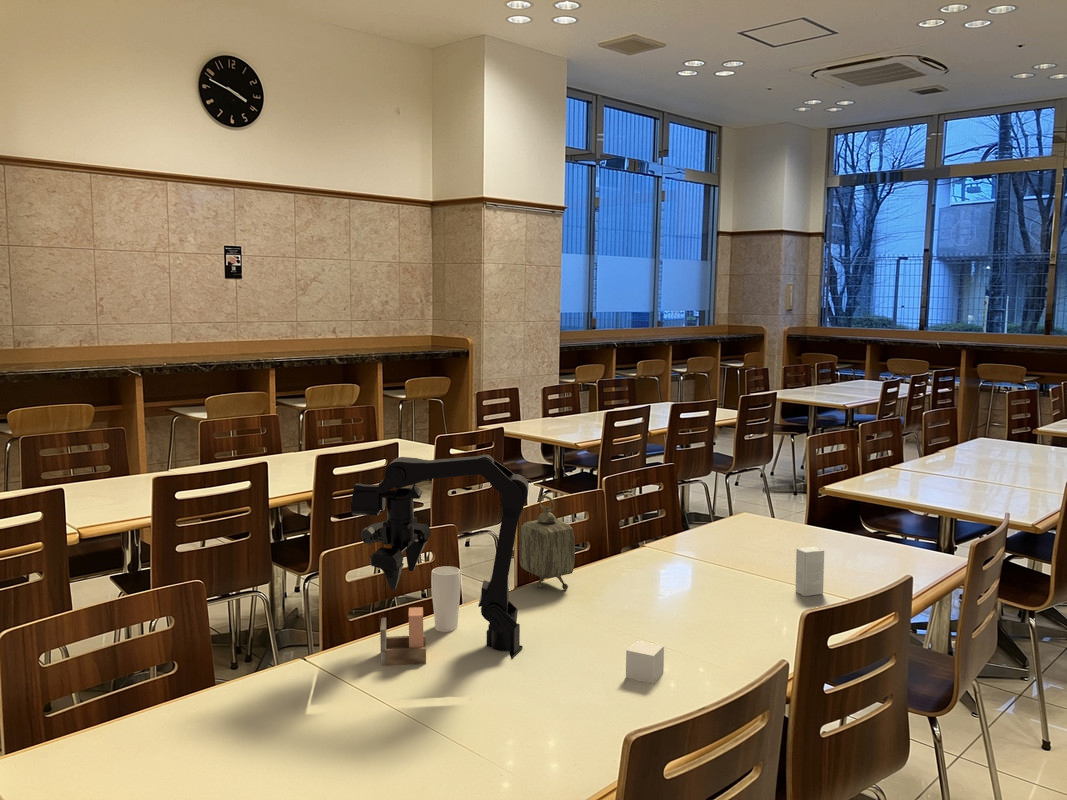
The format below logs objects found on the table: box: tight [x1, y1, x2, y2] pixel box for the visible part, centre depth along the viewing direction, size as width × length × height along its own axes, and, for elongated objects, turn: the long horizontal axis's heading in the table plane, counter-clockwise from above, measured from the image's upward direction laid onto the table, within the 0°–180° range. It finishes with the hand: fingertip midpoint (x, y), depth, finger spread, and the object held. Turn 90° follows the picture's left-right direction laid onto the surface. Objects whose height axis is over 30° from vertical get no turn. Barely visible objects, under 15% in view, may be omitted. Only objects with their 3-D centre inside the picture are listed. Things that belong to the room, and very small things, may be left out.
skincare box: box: [795, 546, 825, 597], centre depth 233 cm, size 6×4×12 cm
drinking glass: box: [430, 565, 462, 633], centre depth 204 cm, size 7×7×15 cm
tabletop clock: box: [518, 495, 576, 591], centre depth 237 cm, size 14×9×25 cm, turn 34°
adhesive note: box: [625, 640, 665, 684], centre depth 182 cm, size 6×6×6 cm
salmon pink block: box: [408, 606, 424, 648], centre depth 187 cm, size 3×5×10 cm, turn 8°
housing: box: [379, 617, 427, 667], centre depth 187 cm, size 10×8×9 cm
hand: (402, 579), depth 196 cm, fingers open, 9 cm apart
